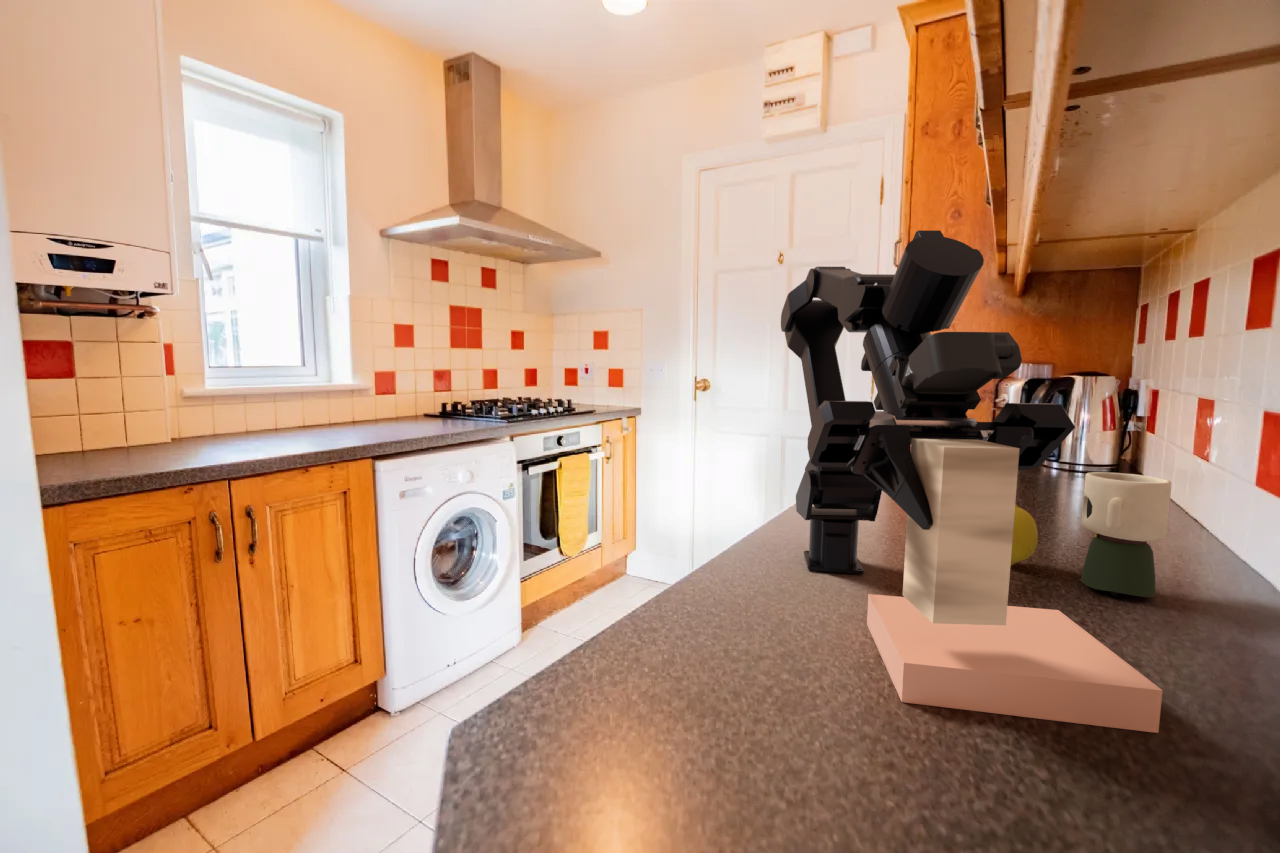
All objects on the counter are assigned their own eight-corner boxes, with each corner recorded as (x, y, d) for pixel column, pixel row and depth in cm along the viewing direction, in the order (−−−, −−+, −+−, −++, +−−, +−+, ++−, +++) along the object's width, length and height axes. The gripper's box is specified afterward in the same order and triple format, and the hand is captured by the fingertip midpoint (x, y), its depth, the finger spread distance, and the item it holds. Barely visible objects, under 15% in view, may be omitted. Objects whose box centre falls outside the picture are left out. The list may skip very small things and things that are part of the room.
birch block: (902, 594, 44) (911, 438, 43) (967, 596, 44) (977, 439, 42) (932, 623, 39) (944, 447, 38) (1005, 625, 39) (1019, 448, 37)
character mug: (1089, 572, 68) (1098, 468, 67) (1168, 590, 62) (1180, 476, 61) (1063, 593, 61) (1072, 477, 60) (1149, 616, 56) (1162, 488, 54)
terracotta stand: (866, 624, 53) (868, 593, 53) (1055, 642, 50) (1058, 610, 49) (901, 702, 40) (903, 662, 40) (1158, 733, 37) (1162, 690, 37)
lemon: (973, 561, 72) (977, 500, 71) (1003, 556, 74) (1007, 497, 73) (1015, 575, 67) (1019, 510, 66) (1046, 570, 69) (1050, 506, 68)
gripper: (822, 298, 43) (866, 458, 34) (1067, 299, 43) (1187, 464, 33) (795, 394, 52) (823, 545, 42) (998, 397, 51) (1077, 551, 41)
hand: (966, 527), depth 39 cm, fingers closed on birch block, 5 cm apart
